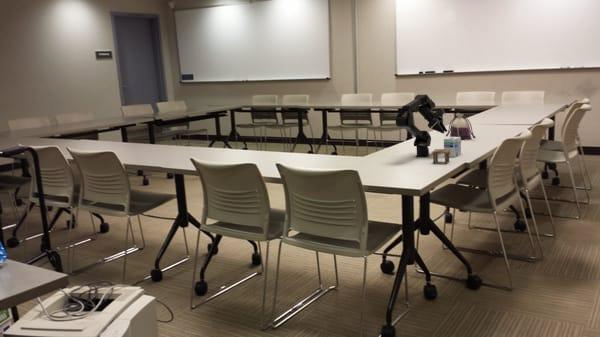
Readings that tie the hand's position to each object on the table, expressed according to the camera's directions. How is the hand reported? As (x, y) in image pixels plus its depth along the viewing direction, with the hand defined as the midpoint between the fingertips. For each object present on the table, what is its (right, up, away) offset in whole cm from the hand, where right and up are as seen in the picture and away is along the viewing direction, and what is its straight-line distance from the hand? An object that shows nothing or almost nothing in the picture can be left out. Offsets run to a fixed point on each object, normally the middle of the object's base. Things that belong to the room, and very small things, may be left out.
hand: (445, 132), depth 312 cm
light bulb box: (+4, -14, 0) cm, 15 cm away
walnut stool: (-7, -18, -18) cm, 27 cm away
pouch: (+27, -1, +60) cm, 66 cm away
